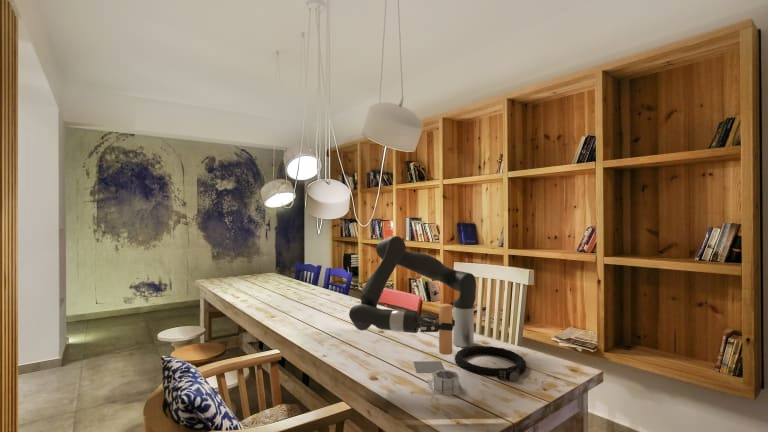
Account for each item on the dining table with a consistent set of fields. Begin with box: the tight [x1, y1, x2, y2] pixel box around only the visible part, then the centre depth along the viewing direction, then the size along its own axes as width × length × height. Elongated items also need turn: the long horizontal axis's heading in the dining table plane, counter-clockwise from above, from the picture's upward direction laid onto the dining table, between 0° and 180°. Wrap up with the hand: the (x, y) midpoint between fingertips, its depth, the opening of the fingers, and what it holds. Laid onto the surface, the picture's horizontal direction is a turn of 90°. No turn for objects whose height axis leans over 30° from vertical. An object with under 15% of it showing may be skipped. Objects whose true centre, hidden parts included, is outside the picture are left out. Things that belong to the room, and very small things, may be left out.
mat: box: [413, 360, 446, 374], centre depth 144 cm, size 11×11×1 cm
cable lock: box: [454, 345, 527, 383], centre depth 148 cm, size 28×4×30 cm
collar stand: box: [426, 369, 466, 396], centre depth 127 cm, size 11×11×5 cm
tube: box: [438, 303, 453, 356], centre depth 127 cm, size 4×4×16 cm
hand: (453, 325), depth 126 cm, fingers closed on tube, 4 cm apart
